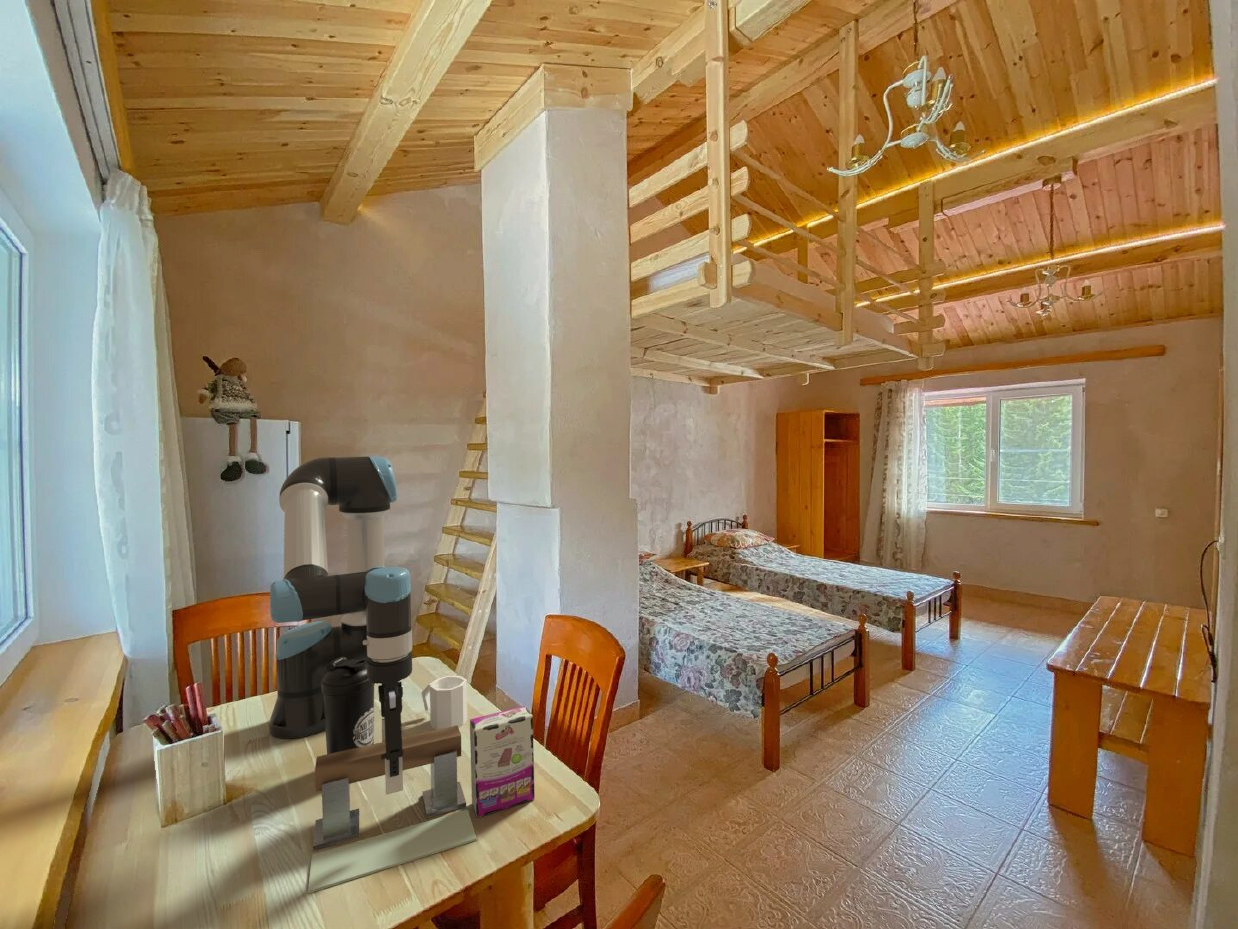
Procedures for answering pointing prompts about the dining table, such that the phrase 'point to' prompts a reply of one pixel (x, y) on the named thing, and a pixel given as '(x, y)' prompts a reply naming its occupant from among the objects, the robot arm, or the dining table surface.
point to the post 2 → (443, 786)
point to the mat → (389, 850)
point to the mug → (446, 702)
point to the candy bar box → (502, 760)
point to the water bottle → (348, 705)
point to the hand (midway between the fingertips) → (392, 770)
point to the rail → (369, 763)
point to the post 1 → (336, 816)
